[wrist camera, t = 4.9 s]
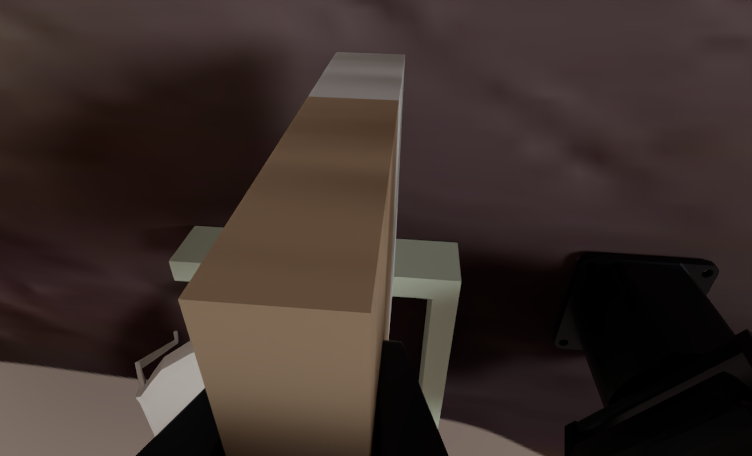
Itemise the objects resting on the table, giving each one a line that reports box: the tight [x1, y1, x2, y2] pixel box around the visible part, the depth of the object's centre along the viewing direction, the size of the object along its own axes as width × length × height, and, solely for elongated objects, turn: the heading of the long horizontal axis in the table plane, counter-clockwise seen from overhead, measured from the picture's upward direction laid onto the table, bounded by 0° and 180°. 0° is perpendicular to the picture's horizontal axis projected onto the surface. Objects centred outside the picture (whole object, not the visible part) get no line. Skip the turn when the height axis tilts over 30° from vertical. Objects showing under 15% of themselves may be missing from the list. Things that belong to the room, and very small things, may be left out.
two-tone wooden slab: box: [178, 52, 405, 456], centre depth 11 cm, size 8×2×10 cm, turn 179°
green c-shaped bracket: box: [169, 226, 461, 429], centre depth 26 cm, size 13×14×3 cm
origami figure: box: [135, 331, 205, 436], centre depth 27 cm, size 12×8×5 cm
